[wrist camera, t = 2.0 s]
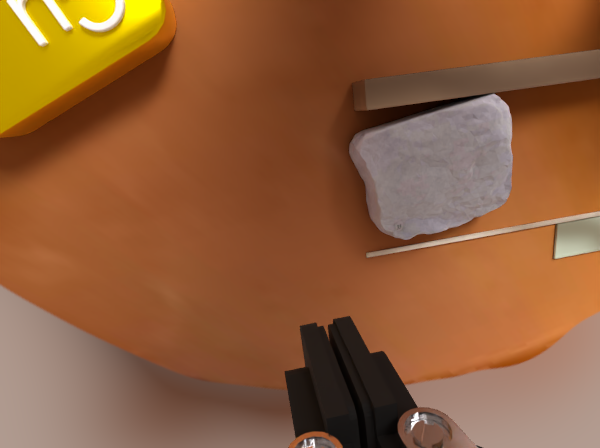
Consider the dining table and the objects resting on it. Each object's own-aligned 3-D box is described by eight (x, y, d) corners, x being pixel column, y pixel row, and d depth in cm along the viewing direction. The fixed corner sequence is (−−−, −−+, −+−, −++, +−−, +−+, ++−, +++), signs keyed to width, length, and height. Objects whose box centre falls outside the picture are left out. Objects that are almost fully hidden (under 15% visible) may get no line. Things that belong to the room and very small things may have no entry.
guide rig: (352, 83, 28) (364, 79, 25) (699, 37, 31) (745, 30, 29) (369, 293, 34) (381, 309, 31) (665, 236, 37) (701, 247, 34)
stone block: (485, 190, 35) (482, 79, 30) (521, 213, 30) (524, 88, 25) (363, 231, 34) (339, 126, 29) (382, 259, 30) (358, 143, 25)
